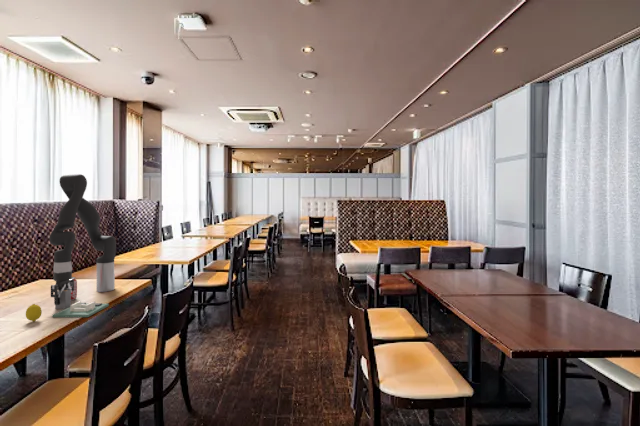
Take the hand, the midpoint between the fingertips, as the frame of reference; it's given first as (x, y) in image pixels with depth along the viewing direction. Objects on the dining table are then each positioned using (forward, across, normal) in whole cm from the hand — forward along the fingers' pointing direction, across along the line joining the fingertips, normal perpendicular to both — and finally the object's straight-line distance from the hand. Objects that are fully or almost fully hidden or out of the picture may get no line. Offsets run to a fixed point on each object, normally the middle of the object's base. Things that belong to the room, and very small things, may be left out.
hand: (62, 302), depth 177 cm
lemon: (+3, +21, +1) cm, 21 cm away
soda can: (+3, -14, -6) cm, 16 cm away
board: (+3, +6, +13) cm, 15 cm away
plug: (+3, 0, 0) cm, 3 cm away
